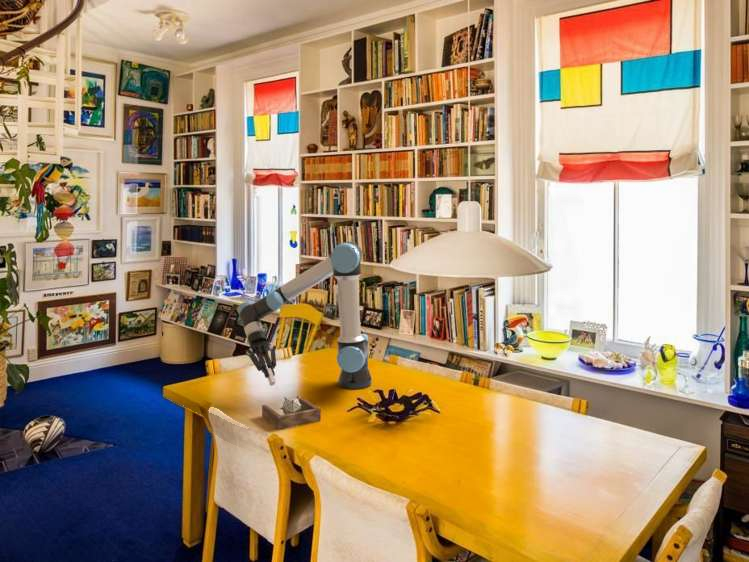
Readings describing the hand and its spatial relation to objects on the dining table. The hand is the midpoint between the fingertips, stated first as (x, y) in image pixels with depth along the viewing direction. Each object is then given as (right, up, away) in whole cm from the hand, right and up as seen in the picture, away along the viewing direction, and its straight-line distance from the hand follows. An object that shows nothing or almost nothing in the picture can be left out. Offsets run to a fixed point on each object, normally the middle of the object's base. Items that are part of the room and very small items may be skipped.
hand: (272, 383), depth 238 cm
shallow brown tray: (+9, -11, -12) cm, 19 cm away
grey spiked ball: (+9, -11, -12) cm, 19 cm away
